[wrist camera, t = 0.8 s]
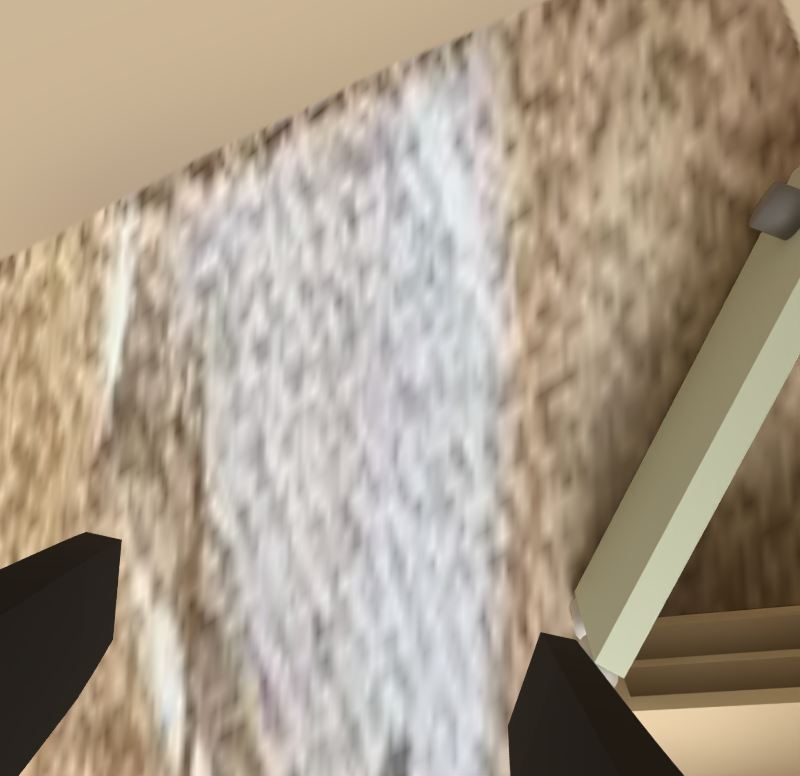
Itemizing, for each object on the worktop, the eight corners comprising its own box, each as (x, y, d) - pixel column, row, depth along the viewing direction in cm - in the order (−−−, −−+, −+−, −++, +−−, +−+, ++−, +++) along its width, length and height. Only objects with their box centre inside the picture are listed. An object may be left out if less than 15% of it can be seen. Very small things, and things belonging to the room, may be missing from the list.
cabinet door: (819, 180, 22) (932, 110, 16) (586, 621, 24) (611, 702, 18) (762, 159, 22) (853, 83, 16) (538, 596, 24) (547, 667, 19)
